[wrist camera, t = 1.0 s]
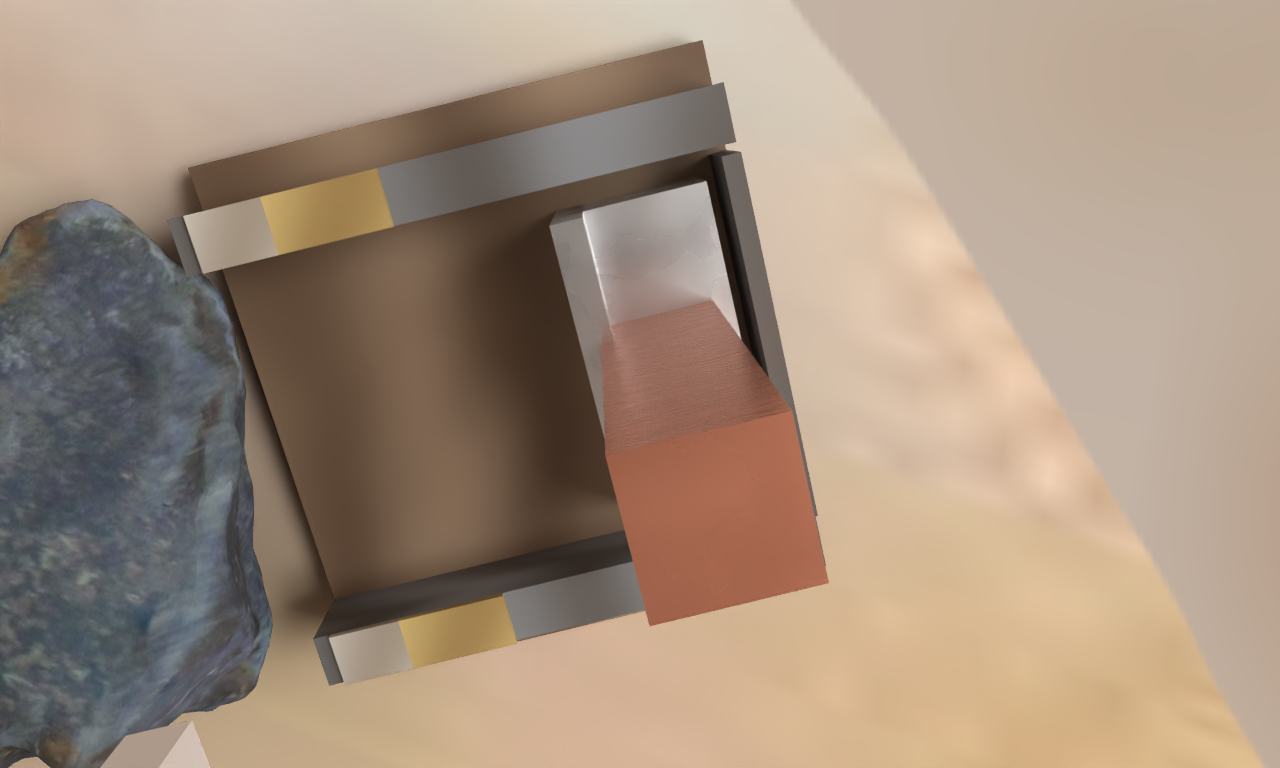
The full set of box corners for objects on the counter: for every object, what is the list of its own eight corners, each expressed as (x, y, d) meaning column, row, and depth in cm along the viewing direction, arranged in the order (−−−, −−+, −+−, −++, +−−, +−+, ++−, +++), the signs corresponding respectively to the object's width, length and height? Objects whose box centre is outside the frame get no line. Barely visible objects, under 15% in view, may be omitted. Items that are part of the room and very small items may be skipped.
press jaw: (632, 504, 31) (662, 789, 18) (556, 210, 29) (524, 278, 15) (760, 472, 31) (891, 734, 18) (694, 176, 29) (784, 214, 15)
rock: (-4, 706, 33) (286, 784, 32) (-239, 761, 25) (135, 868, 24) (131, 247, 35) (409, 306, 34) (-48, 163, 27) (309, 235, 26)
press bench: (369, 659, 33) (338, 733, 29) (203, 166, 30) (141, 172, 25) (808, 554, 33) (838, 613, 29) (698, 43, 29) (714, 29, 25)
